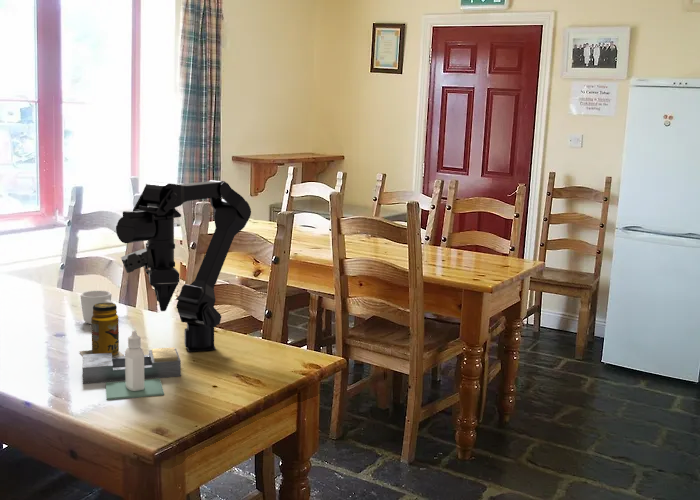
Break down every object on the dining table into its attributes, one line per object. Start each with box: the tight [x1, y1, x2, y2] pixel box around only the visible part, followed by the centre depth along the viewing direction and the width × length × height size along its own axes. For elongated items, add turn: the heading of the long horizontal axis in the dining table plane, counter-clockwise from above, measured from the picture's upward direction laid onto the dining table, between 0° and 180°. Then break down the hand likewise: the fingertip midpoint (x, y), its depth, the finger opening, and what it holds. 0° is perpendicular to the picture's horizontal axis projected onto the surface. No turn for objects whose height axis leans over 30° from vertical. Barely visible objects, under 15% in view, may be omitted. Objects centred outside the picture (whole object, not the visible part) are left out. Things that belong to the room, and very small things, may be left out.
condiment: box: [78, 302, 125, 357], centre depth 170 cm, size 7×8×12 cm
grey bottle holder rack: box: [81, 347, 182, 385], centre depth 159 cm, size 20×9×4 cm, turn 109°
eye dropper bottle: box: [124, 329, 145, 391], centre depth 148 cm, size 4×6×12 cm
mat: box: [105, 378, 165, 401], centre depth 149 cm, size 11×9×1 cm
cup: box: [79, 290, 114, 325], centre depth 196 cm, size 11×8×8 cm
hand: (161, 306), depth 166 cm, fingers open, 9 cm apart
